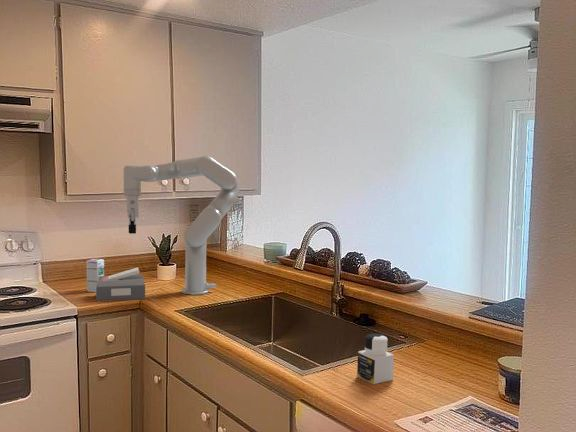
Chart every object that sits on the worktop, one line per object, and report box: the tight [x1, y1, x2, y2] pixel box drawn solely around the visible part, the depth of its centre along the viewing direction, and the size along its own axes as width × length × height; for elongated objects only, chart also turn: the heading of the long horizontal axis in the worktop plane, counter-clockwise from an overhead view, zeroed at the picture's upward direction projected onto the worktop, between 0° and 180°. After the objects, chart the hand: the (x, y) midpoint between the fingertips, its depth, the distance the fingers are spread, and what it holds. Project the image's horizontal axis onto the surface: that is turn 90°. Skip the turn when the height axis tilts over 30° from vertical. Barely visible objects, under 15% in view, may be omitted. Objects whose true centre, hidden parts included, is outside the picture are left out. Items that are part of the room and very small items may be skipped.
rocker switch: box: [101, 267, 140, 281], centre depth 238 cm, size 16×7×2 cm, turn 107°
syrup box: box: [86, 258, 105, 293], centre depth 250 cm, size 6×6×14 cm
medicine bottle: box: [356, 333, 395, 385], centre depth 149 cm, size 7×7×12 cm
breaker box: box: [95, 274, 146, 302], centre depth 239 cm, size 20×12×8 cm, turn 107°
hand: (132, 233), depth 247 cm, fingers closed
